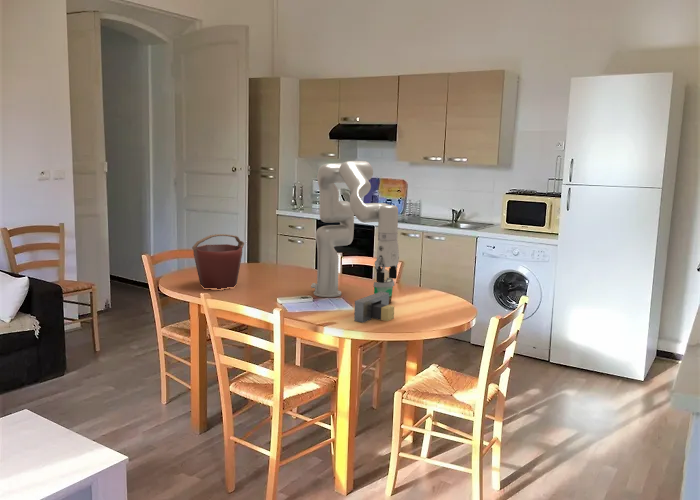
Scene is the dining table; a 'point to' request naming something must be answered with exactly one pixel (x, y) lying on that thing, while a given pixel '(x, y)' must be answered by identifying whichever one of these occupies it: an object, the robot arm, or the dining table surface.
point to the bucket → (218, 263)
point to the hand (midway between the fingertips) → (386, 280)
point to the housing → (369, 305)
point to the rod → (382, 312)
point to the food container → (384, 287)
